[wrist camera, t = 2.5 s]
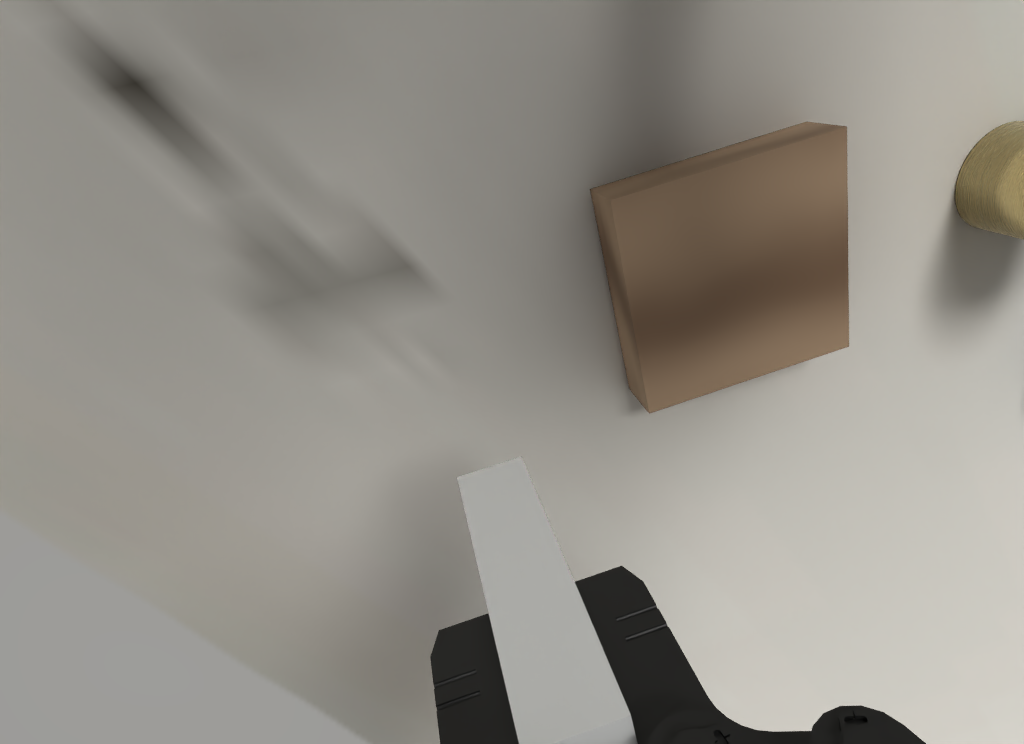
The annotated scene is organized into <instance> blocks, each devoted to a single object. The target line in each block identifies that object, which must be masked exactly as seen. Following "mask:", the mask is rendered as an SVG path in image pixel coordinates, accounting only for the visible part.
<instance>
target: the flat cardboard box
mask: <svg viewBox="0 0 1024 744" xmlns="http://www.w3.org/2000/svg"><path fill="white" fill-rule="evenodd" d="M590 191H591V196H592V202H593V207H594V212H595V217H596V222H597V227H598V232H599V237H600V242H601V247H602V252H603V257H604V262H605V268H606V273H607V278H608V283H609V288H610V293H611V298H612V303H613V308H614V313H615V318H616V323H617V328H618V333H619V339H620V344H621V349H622V354H623V359H624V364H625V369H626V374H627V379H628V384H629V389H630V390H631V392H632V393H633V394H634V395H635V397H636V398H637V399H638V400H639V401H640V403H641V404H642V405H643V406H644V408H645V409H646V410H647V411H648V412H649V413H652V412H655V411H658V410H661V409H664V408H667V407H670V406H673V405H676V404H679V403H682V402H685V401H688V400H691V399H694V398H697V397H700V396H703V395H706V394H709V393H712V392H715V391H718V390H721V389H724V388H726V387H729V386H732V385H735V384H738V383H741V382H744V381H747V380H750V379H753V378H756V377H759V376H762V375H765V374H768V373H771V372H774V371H777V370H780V369H783V368H786V367H789V366H792V365H795V364H798V363H801V362H804V361H807V360H810V359H813V358H816V357H819V356H822V355H825V354H828V353H831V352H834V351H836V350H839V349H842V348H845V347H848V346H849V300H848V197H847V127H846V126H838V125H829V124H821V123H813V122H804V123H801V124H798V125H795V126H791V127H788V128H785V129H782V130H778V131H775V132H772V133H769V134H766V135H762V136H759V137H756V138H753V139H750V140H746V141H743V142H740V143H737V144H734V145H730V146H727V147H724V148H721V149H718V150H714V151H711V152H708V153H705V154H702V155H698V156H695V157H692V158H689V159H685V160H682V161H679V162H676V163H673V164H669V165H666V166H663V167H660V168H657V169H653V170H650V171H647V172H644V173H641V174H637V175H634V176H631V177H628V178H625V179H621V180H618V181H615V182H612V183H608V184H605V185H602V186H599V187H596V188H592V189H590Z"/></svg>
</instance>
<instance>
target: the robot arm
mask: <svg viewBox="0 0 1024 744" xmlns="http://www.w3.org/2000/svg"><path fill="white" fill-rule="evenodd" d="M457 480H458V484H459V489H460V493H461V497H462V501H463V506H464V510H465V514H466V519H467V523H468V527H469V531H470V536H471V540H472V544H473V549H474V553H475V557H476V561H477V566H478V570H479V574H480V579H481V583H482V587H483V591H484V596H485V600H486V604H487V609H488V614H485V615H483V616H480V617H477V618H474V619H471V620H468V621H465V622H462V623H459V624H456V625H453V626H451V627H448V628H445V629H442V630H439V632H438V635H437V638H436V641H435V645H434V648H433V651H432V654H431V666H432V675H433V683H434V687H435V689H434V692H435V701H436V707H437V719H438V727H439V736H440V744H926V743H925V742H923V741H922V740H921V739H920V738H919V737H917V736H916V735H915V734H914V733H913V732H911V731H910V730H909V729H908V728H907V727H905V726H904V725H903V724H901V723H900V722H898V721H896V720H895V719H893V718H892V717H890V716H888V715H887V714H885V713H884V712H881V711H877V710H874V709H870V708H867V707H864V706H840V707H837V708H835V709H833V710H830V711H828V712H826V713H823V715H822V716H821V717H820V718H819V719H818V721H817V722H816V723H815V724H814V725H813V728H812V731H792V732H770V731H759V730H754V729H751V728H748V727H745V726H741V725H740V724H738V723H736V722H734V721H732V720H731V719H729V718H727V717H726V716H725V715H724V714H722V713H721V712H720V711H719V710H718V709H717V708H716V707H715V706H714V705H713V703H712V702H711V700H710V699H709V698H708V696H707V695H706V693H705V691H704V689H703V687H702V686H701V684H700V682H699V680H698V678H697V677H696V675H695V673H694V671H693V670H692V668H691V666H690V664H689V662H688V661H687V659H686V657H685V655H684V653H683V652H682V650H681V648H680V646H679V645H678V643H677V641H676V639H675V637H674V636H673V634H672V632H671V630H670V629H669V627H668V626H667V624H666V621H665V620H664V618H663V616H662V614H661V612H660V611H659V609H657V606H656V604H655V602H654V600H653V598H652V596H651V595H650V593H649V591H648V589H647V588H646V586H645V584H644V582H643V581H642V580H640V579H639V578H638V577H636V576H635V575H634V574H632V573H631V572H630V571H628V570H627V569H625V568H624V567H623V566H620V567H617V568H614V569H611V570H608V571H605V572H602V573H599V574H597V575H594V576H591V577H588V578H585V579H582V580H579V581H576V582H574V579H573V577H572V574H571V572H570V570H569V567H568V565H567V563H566V560H565V558H564V555H563V553H562V551H561V548H560V546H559V544H558V541H557V539H556V536H555V534H554V532H553V529H552V527H551V525H550V522H549V520H548V518H547V515H546V513H545V510H544V508H543V506H542V503H541V501H540V499H539V496H538V494H537V491H536V489H535V487H534V484H533V482H532V480H531V477H530V475H529V472H528V470H527V468H526V465H525V463H524V461H523V458H522V456H521V457H518V458H515V459H512V460H508V461H505V462H502V463H499V464H496V465H493V466H490V467H487V468H484V469H481V470H478V471H474V472H471V473H468V474H465V475H462V476H459V477H457Z"/></svg>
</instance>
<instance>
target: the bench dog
mask: <svg viewBox="0 0 1024 744" xmlns="http://www.w3.org/2000/svg"><path fill="white" fill-rule="evenodd" d="M955 199H956V206H957V209H958V212H959V214H960V216H961V217H962V219H963V220H964V221H965V222H966V223H968V224H969V225H971V226H973V227H976V228H980V229H984V230H988V231H992V232H996V233H1000V234H1004V235H1008V236H1012V237H1016V238H1020V239H1023V240H1024V121H1014V122H1009V123H1006V124H1004V125H1001V126H999V127H997V128H995V129H994V130H992V131H991V132H989V133H988V134H987V135H986V136H984V137H983V138H982V139H981V140H980V141H979V142H978V143H977V144H976V146H975V147H974V148H973V149H972V151H971V152H970V154H969V155H968V157H967V158H966V160H965V162H964V164H963V166H962V168H961V170H960V173H959V176H958V180H957V184H956V191H955Z"/></svg>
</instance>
